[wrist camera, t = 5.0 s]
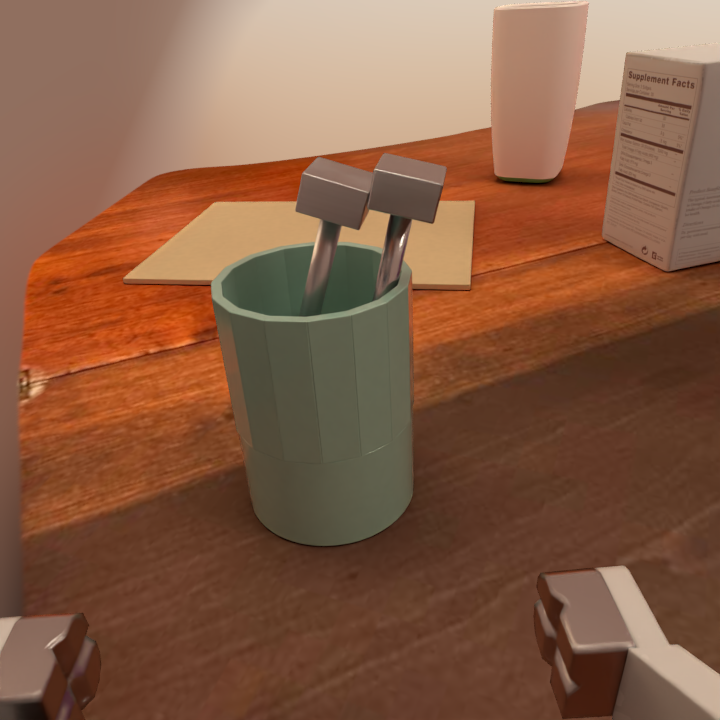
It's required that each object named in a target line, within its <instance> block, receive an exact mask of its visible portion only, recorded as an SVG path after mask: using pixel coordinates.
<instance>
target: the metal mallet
mask: <svg viewBox="0 0 720 720" xmlns="http://www.w3.org/2000/svg"><path fill="white" fill-rule="evenodd" d="M446 170H447V167H445V166H441V165H436V164H432V163H427V162H423V161H419V160H414V159H410V158H405V157H401V156H396V155H392V154H387V153H384V154H383V155H382V157H381V159H380V160H379V162H378V164H377V165H376V167H375V169H374V171H373V176H372V181H371V187H370V192H369V197H368V203H367V209H369V210H373V211H378V212H382V213H386V214H390V217H389V222H388V227H387V232H386V237H385V241H384V246H383V251H382V256H381V261H380V265H379V270H378V275H377V280H376V285H375V289H374V294H373V299H372V302H373V301H376V300H378V299H380V298H381V297H383V296H384V295H385V294H386V293H388V292H389V291H390V290H392V289H393V288H394V287H396V286H397V285H398V281H399V276H400V272H401V268H402V263H403V259H404V255H405V250H406V246H407V241H408V237H409V233H410V228H411V224H412V220H417V221H421V222H425V223H430V224H433V223H434V221H435V217H436V213H437V209H438V205H439V201H440V197H441V193H442V189H443V185H444V180H445V175H446Z"/></svg>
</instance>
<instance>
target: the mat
mask: <svg viewBox="0 0 720 720" xmlns="http://www.w3.org/2000/svg"><path fill="white" fill-rule="evenodd" d="M296 203H297V202H215V203H214V204H212V205H211V206H210V207H209V208H207V209H206V210H205V211H204V212H203V213H201V214H200V215H199V216H198V217H197V218H195V219H194V220H193V221H192V222H191V223H189V224H188V225H187V226H186V227H184V228H183V229H182V230H181V231H180V232H178V233H177V234H176V235H175V236H174V237H172V238H171V239H170V240H169V241H167V242H166V243H165V244H164V245H163V246H161V247H160V248H159V249H158V250H157V251H155V252H154V253H153V254H152V255H151V256H149V257H148V258H147V259H146V260H144V261H143V262H142V263H141V264H140V265H138V266H137V267H136V268H135V269H134V270H132V271H131V272H130V273H129V274H128V275H126V276H125V277H124V278H123V282H124V283H130V284H182V285H211V282H212V281H213V280H214V279H215V278H216V277H217V276H218V274H219V273H220V272H221V271H222V270H223V269H224V268H225V267H227V266H229V265H231V264H233V263H235V262H237V261H238V260H240V259H242V258H244V257H246V256H248V255H251V254H255V253H258V252H262V251H265V250H269V249H272V248H276V247H279V246H286V245H293V244H301V243H309V242H315V241H316V236H317V231H318V227H319V222H320V219H318V218H315V217H312V216H309V215H305V214H302V213H299V212H296V211H295V208H296ZM474 210H475V201H439V205H438V209H437V213H436V217H435V221H434V223H433V224H430V223H425V222H421V221H417V220H412V224H411V228H410V233H409V237H408V241H407V246H406V250H405V255H404V259H403V260H404V261H405V262H406V264H407V265H408V266H409V267H410V269H411V270H412V289H440V290H470V283H471V265H472V247H473V229H474ZM389 217H390V214H386V213H382V212H378V211H373V210H369V212H368V214H367V216H366V218H365V220H364V222H363V224H362V226H361V228H360V230H355V229H352V228H348V227H345V226H342V227H341V231H340V235H339V240H338V242H352V243H358V244H364V245H370V246H376V247H380V248H382V249H383V246H384V241H385V237H386V232H387V227H388V222H389Z"/></svg>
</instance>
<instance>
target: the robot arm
mask: <svg viewBox="0 0 720 720" xmlns="http://www.w3.org/2000/svg"><path fill="white" fill-rule="evenodd" d="M537 590H538V593H539V596H540V599H539V600H538V601H537V602H536V603H535V604H534V628H535V635H536V639H537V643H538V647H539V650H540V653H541V656H542V659H544V660H545V661H546V662H547V663H548V664H549V665H550V666H552V672H551V679H550V683H551V686H552V689H553V692H554V695H555V698H556V701H557V704H558V707H559V710H560V713H561V715H562V718H563V719H568V718H585V717H602V716H612V719H613V720H720V674H718V673H717V672H715V671H714V670H713V669H711V668H710V667H709V666H707V665H706V664H704V663H703V662H702V661H700V660H699V659H698V658H696V657H695V656H693V655H692V654H691V653H689V652H688V651H687V650H685V649H684V648H682V647H681V646H680V645H678V644H676V645H669V643H668V641H667V639H666V637H665V635H664V634H663V632H662V630H661V628H660V626H659V624H658V623H657V621H656V619H655V617H654V615H653V613H652V611H651V610H650V608H649V606H648V604H647V602H646V600H645V599H644V597H643V595H642V593H641V591H640V589H639V588H638V586H637V584H636V582H635V580H634V578H633V577H632V575H631V573H630V571H629V570H628V569H627V568H626V567H625V566H614V567H602V568H595V569H594V568H585V569H575V570H564V571H554V572H544V573H540V575H539V576H538V580H537ZM88 627H89V624H88V622H87V620H86V618H85V616H84V614H83V613H69V614H52V615H34V616H19V617H6V618H0V720H85V718H84V716H83V713H82V710H83V709H84V708H85V707H86V705H87V704H88V703H89V702H90V701H91V700H92V699H93V698H94V697H95V694H96V691H97V687H98V684H99V680H100V670H101V658H100V651H99V648H98V646H97V643H96V641H94V640H93V639H91V638H89V637H88V636H86V632H87V630H88Z"/></svg>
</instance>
